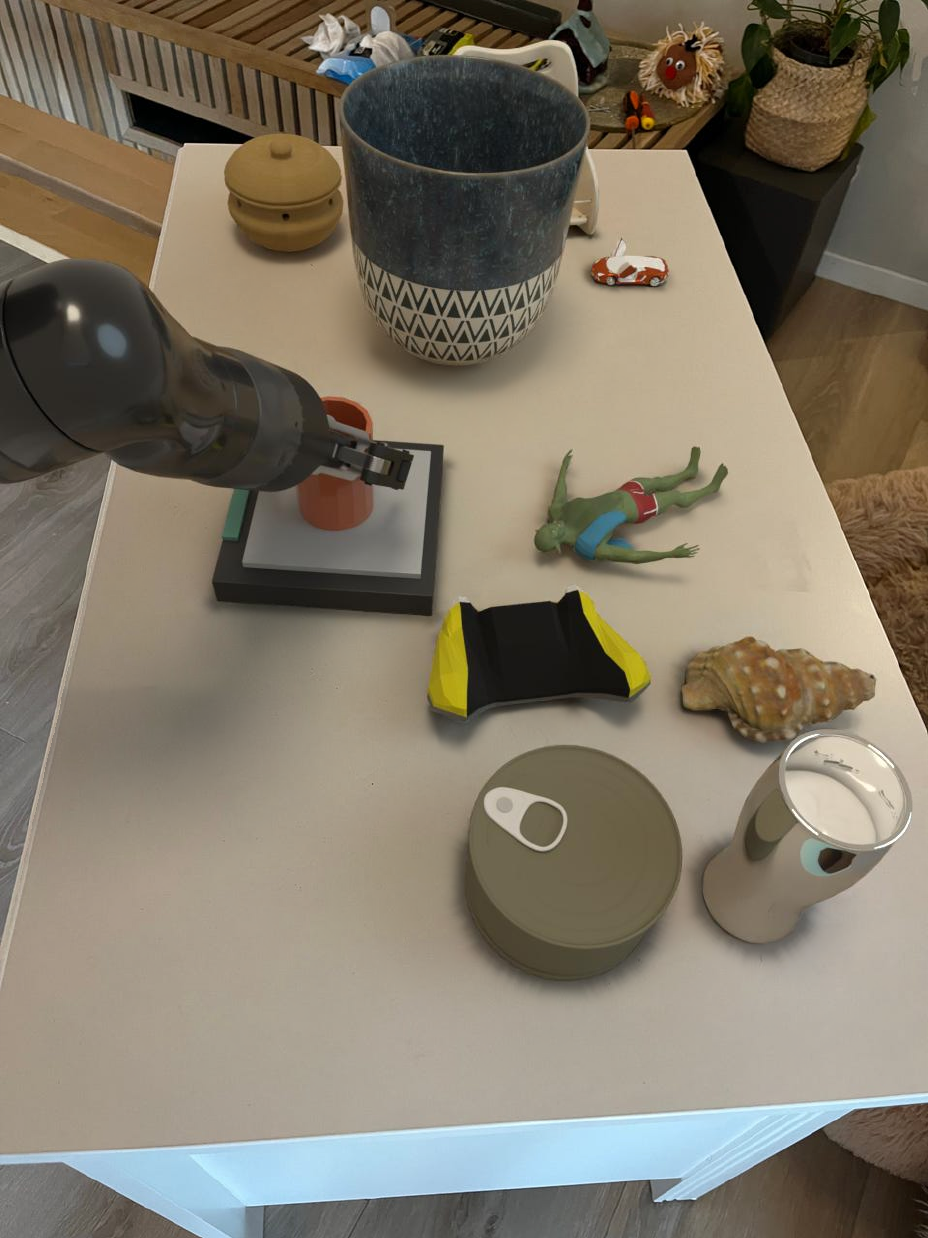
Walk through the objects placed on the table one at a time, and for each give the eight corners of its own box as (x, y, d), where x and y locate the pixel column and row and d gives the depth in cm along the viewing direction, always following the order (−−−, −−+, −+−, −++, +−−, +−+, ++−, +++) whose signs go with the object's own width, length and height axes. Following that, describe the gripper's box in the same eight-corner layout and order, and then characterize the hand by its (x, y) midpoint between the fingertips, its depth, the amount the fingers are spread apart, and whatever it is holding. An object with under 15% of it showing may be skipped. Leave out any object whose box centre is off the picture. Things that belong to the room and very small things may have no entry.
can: (613, 1023, 52) (639, 991, 46) (426, 924, 55) (430, 882, 49) (680, 846, 58) (710, 799, 53) (511, 765, 61) (522, 713, 56)
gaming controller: (645, 726, 64) (607, 612, 69) (663, 683, 59) (622, 565, 65) (432, 753, 61) (411, 633, 67) (435, 711, 57) (412, 586, 63)
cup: (293, 528, 69) (282, 449, 62) (303, 473, 72) (294, 393, 66) (370, 533, 69) (367, 455, 62) (377, 479, 72) (375, 399, 66)
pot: (341, 205, 101) (337, 111, 93) (348, 266, 94) (344, 170, 86) (233, 206, 100) (219, 111, 92) (232, 269, 93) (216, 171, 85)
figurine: (784, 500, 71) (604, 584, 64) (772, 539, 74) (598, 625, 67) (649, 410, 81) (480, 476, 74) (643, 448, 83) (479, 515, 76)
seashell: (754, 670, 71) (865, 618, 63) (775, 771, 67) (895, 729, 60) (666, 647, 66) (774, 588, 59) (683, 755, 63) (800, 706, 55)
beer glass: (691, 835, 59) (767, 717, 47) (799, 848, 59) (903, 733, 47) (697, 944, 55) (782, 845, 43) (813, 958, 55) (930, 863, 43)
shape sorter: (566, 189, 106) (593, 18, 92) (595, 240, 100) (629, 64, 86) (399, 201, 102) (400, 24, 88) (419, 254, 96) (423, 73, 82)
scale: (216, 601, 68) (210, 576, 65) (254, 452, 77) (249, 425, 75) (431, 615, 68) (433, 591, 66) (442, 465, 78) (444, 439, 75)
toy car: (587, 261, 97) (592, 234, 95) (661, 264, 98) (668, 236, 95) (593, 290, 94) (598, 262, 92) (669, 293, 95) (677, 265, 92)
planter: (578, 396, 84) (625, 165, 67) (369, 420, 81) (363, 183, 63) (521, 274, 95) (548, 49, 78) (335, 291, 92) (321, 58, 74)
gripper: (372, 394, 50) (444, 426, 66) (146, 321, 52) (268, 369, 68) (332, 525, 51) (413, 526, 67) (114, 448, 54) (241, 466, 69)
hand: (340, 446), depth 67 cm, fingers open, 8 cm apart
